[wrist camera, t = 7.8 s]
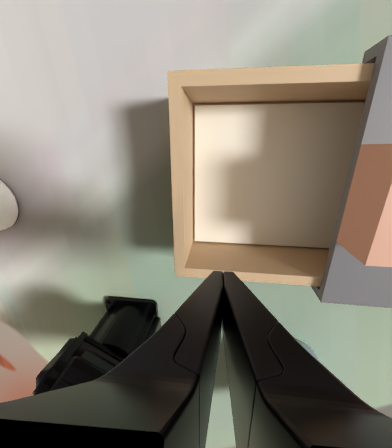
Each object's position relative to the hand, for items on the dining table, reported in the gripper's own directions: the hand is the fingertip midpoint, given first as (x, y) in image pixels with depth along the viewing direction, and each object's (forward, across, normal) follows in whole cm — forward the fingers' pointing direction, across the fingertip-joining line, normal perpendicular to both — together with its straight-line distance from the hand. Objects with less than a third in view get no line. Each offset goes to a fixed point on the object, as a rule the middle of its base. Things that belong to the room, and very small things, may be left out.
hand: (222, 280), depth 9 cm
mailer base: (+13, -6, -2) cm, 14 cm away
